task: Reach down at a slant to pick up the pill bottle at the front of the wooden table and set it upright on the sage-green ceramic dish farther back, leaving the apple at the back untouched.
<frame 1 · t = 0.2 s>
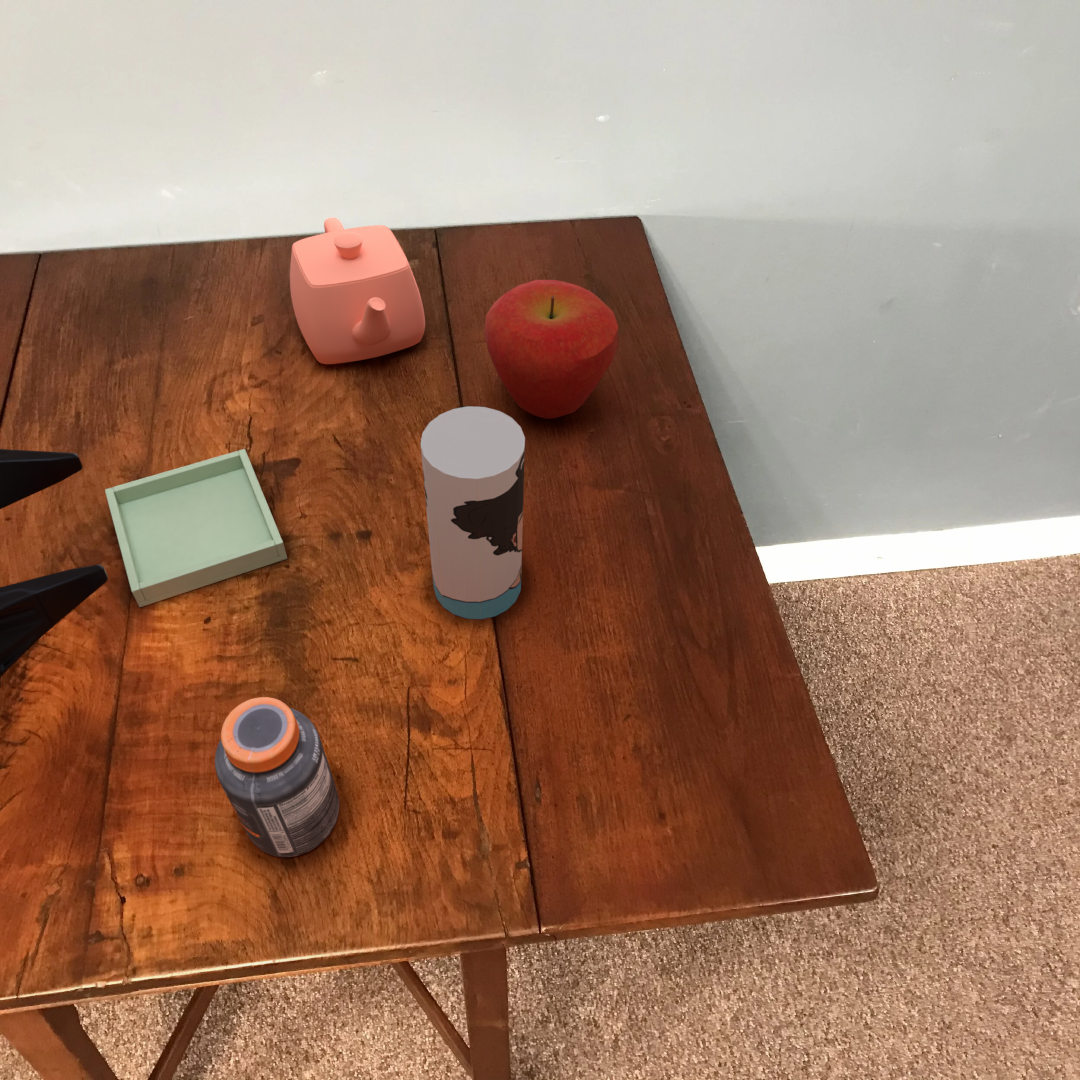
hand: (92, 513, 53), 17 cm above the table, tool horizontal, fingers open, 9 cm apart
dish: (198, 531, 74), on the table
pill bottle: (293, 815, 60), on the table
apple: (548, 407, 85), on the table
white cylindrical canister: (477, 585, 72), on the table
teapot: (363, 340, 91), on the table
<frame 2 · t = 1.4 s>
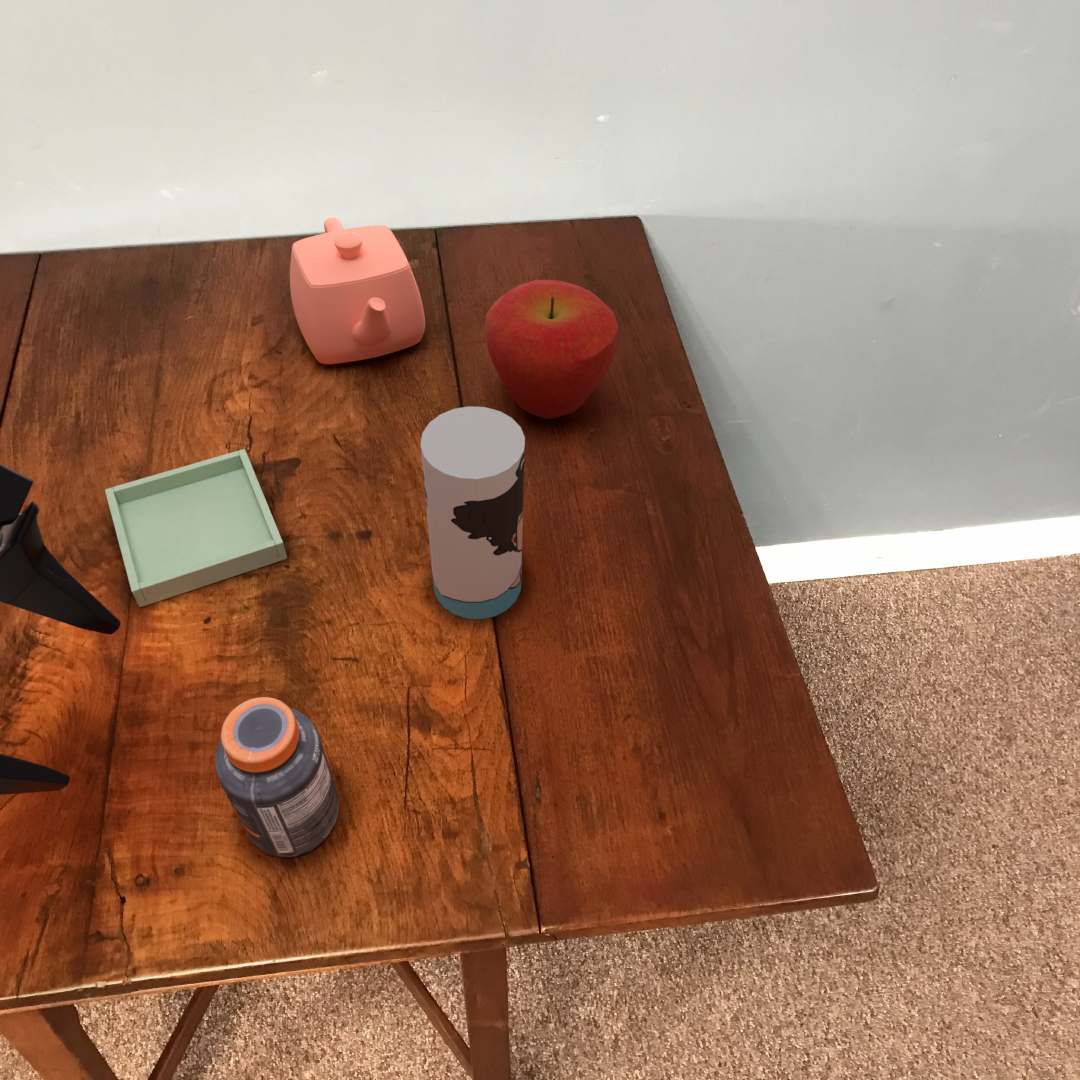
hand: (93, 701, 49), 14 cm above the table, tool tilted 45°, fingers open, 9 cm apart
nothing on the table moved.
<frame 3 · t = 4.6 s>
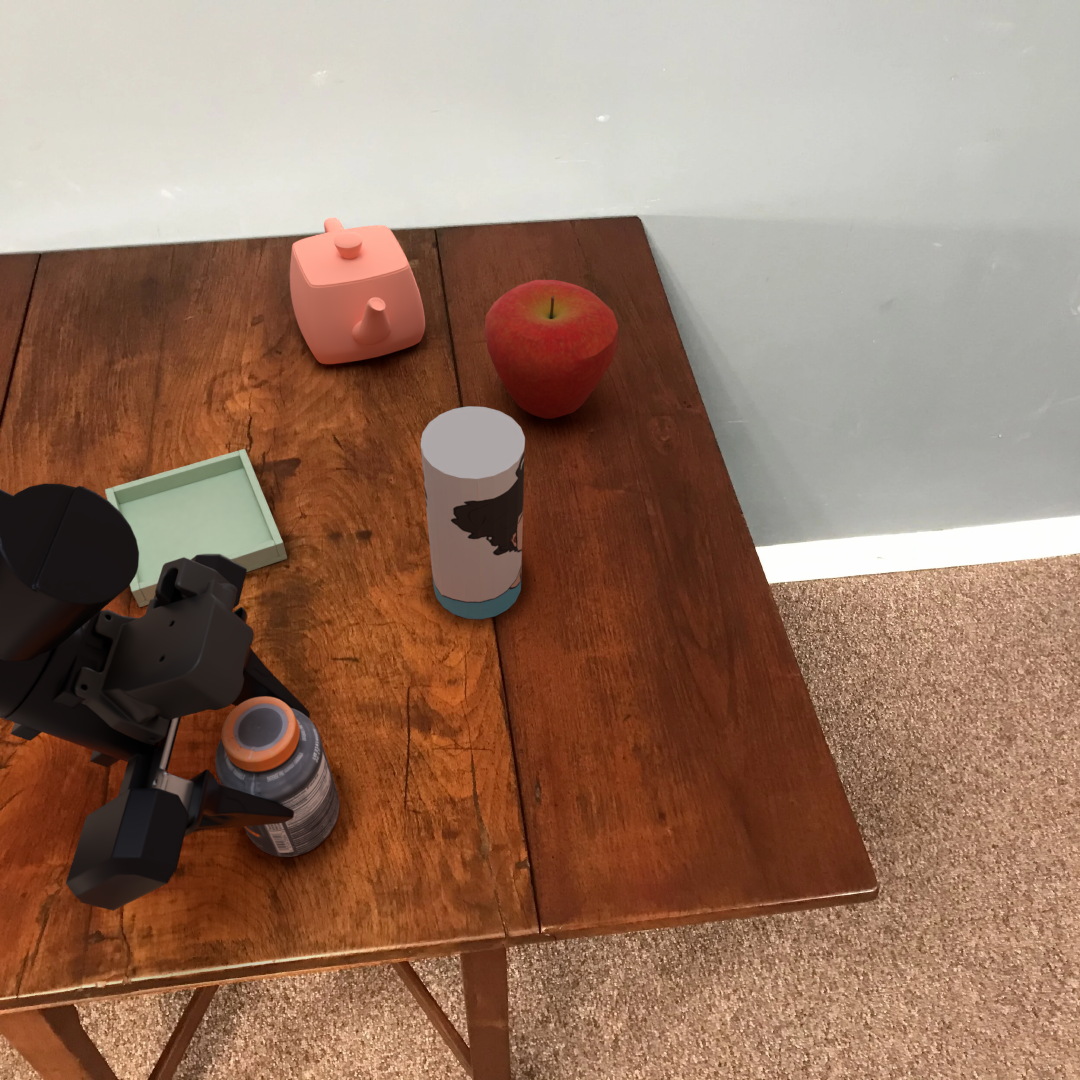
hand: (298, 766, 54), 7 cm above the table, tool tilted 45°, fingers closed on pill bottle, 6 cm apart
pill bottle: (293, 815, 60), on the table, touching gripper
everything else where it was.
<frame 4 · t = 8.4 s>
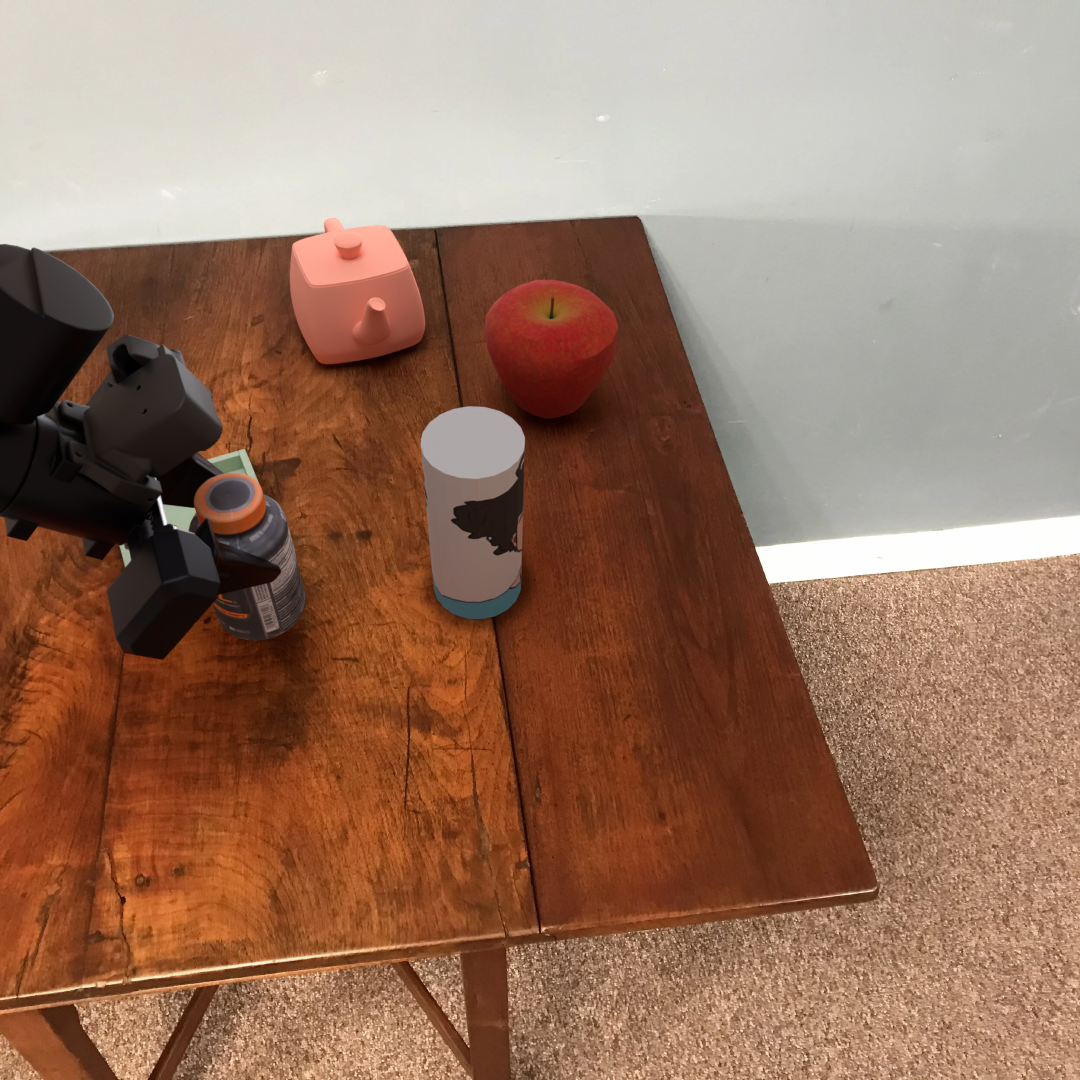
hand: (265, 539, 59), 11 cm above the table, tool tilted 45°, fingers closed on pill bottle, 6 cm apart
pill bottle: (263, 609, 64), point 4 cm above the table, touching gripper
everything else where it was.
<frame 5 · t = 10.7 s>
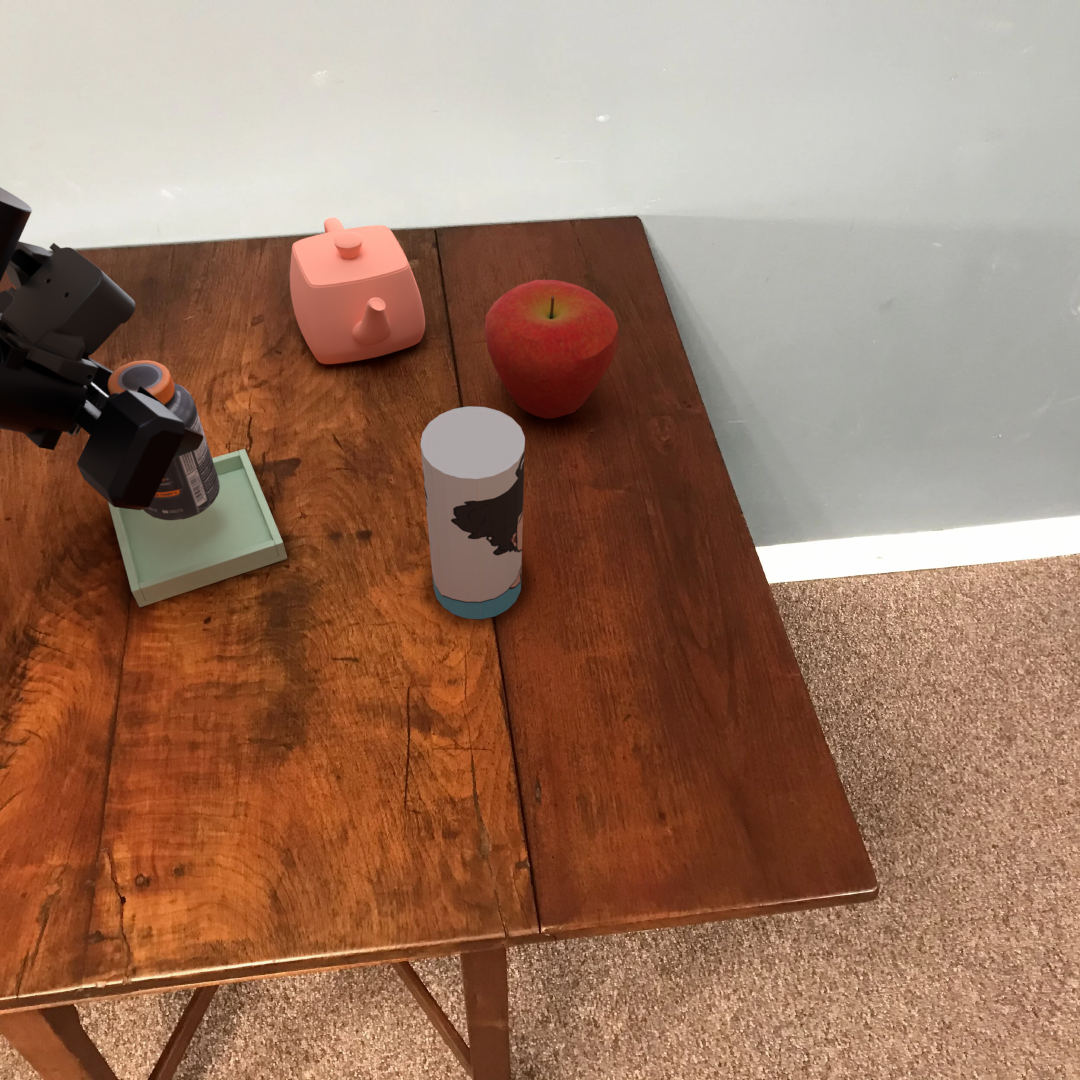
hand: (174, 420, 66), 11 cm above the table, tool tilted 45°, fingers closed on pill bottle, 6 cm apart
pill bottle: (181, 496, 71), point 4 cm above the table, touching gripper
everything else where it was.
when the fingers open (7 cm above the table, at t = 12.4 s): pill bottle stays where it is, resting on dish.
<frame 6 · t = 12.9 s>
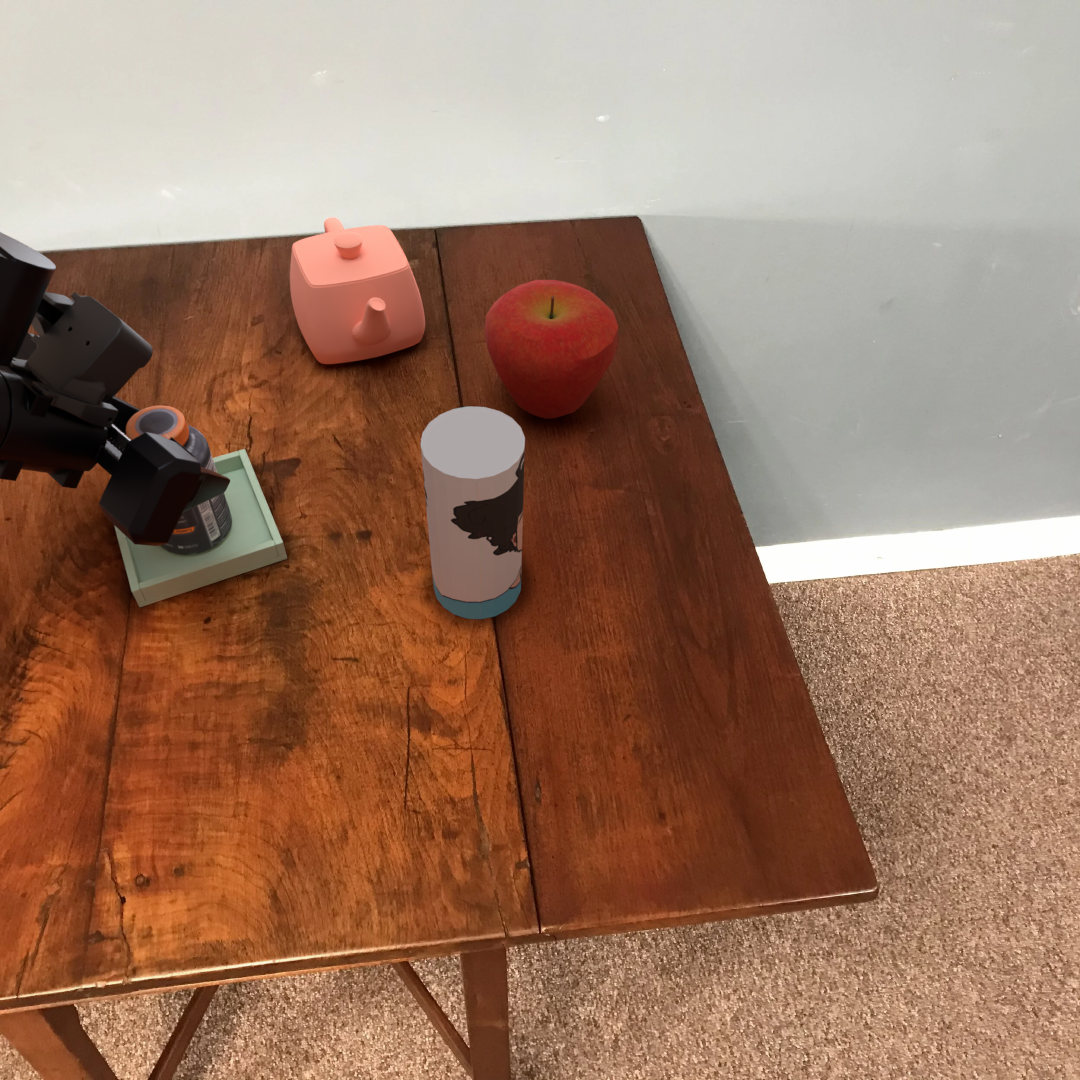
hand: (189, 453, 69), 8 cm above the table, tool tilted 45°, fingers open, 9 cm apart
pill bottle: (195, 530, 74), resting on dish
everything else where it was.
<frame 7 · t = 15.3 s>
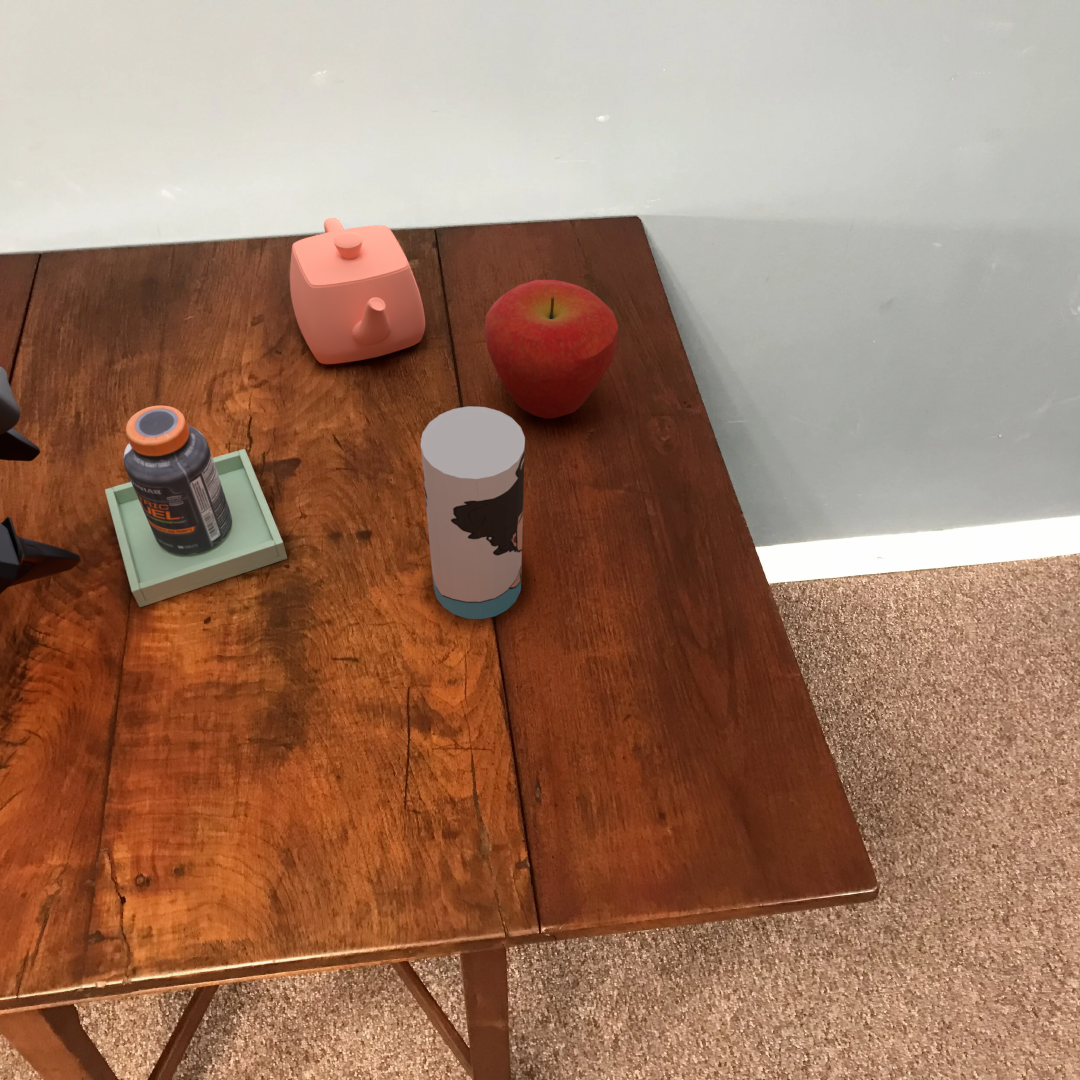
hand: (55, 507, 61), 11 cm above the table, tool tilted 35°, fingers open, 9 cm apart
nothing on the table moved.
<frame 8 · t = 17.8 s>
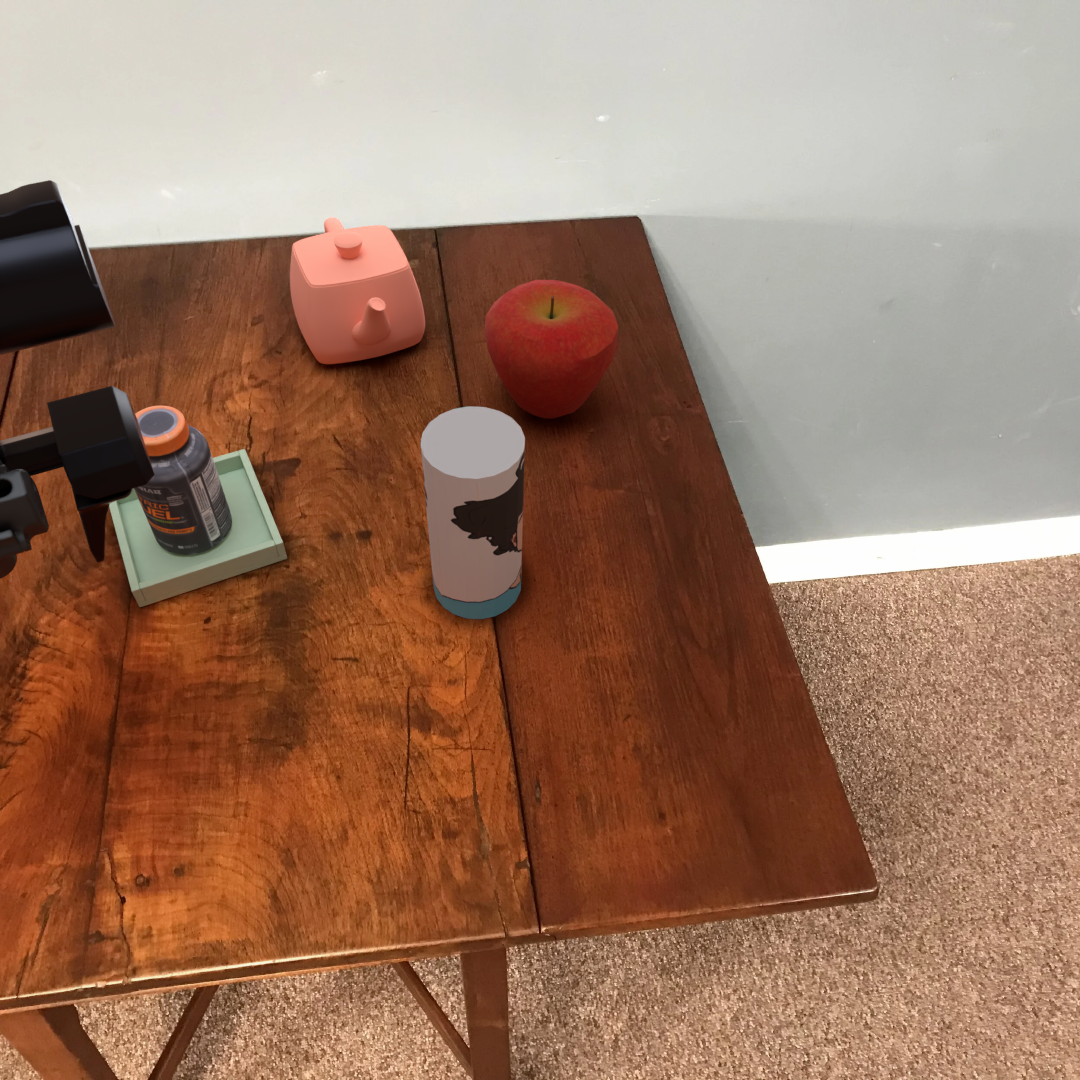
hand: (17, 582, 55), 13 cm above the table, tool pointing down, fingers open, 9 cm apart
nothing on the table moved.
at the end: pill bottle inside the target area in the dish (0.2 cm from its centre), point 0.3 cm above the dish's base; pill bottle tilted 0°; apple moved 0.2 cm from its start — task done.
